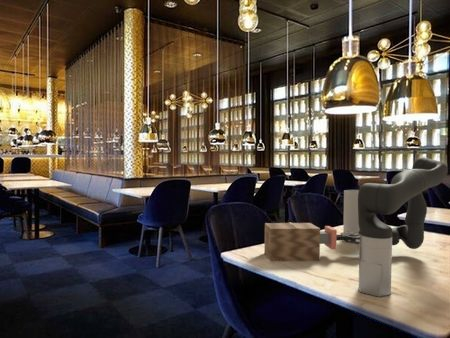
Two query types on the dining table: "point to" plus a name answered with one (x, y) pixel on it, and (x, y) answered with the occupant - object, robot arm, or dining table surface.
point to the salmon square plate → (329, 237)
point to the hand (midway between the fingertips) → (332, 237)
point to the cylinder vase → (351, 211)
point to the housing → (292, 242)
